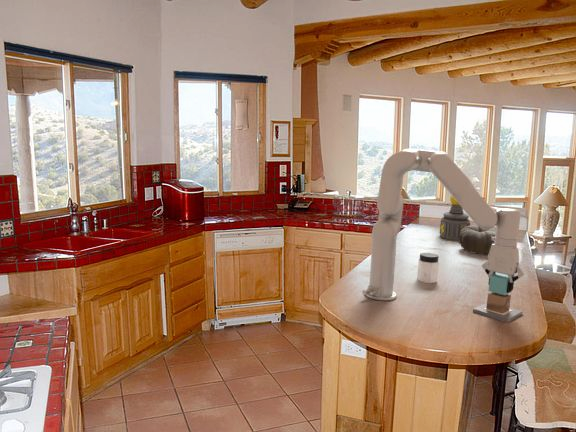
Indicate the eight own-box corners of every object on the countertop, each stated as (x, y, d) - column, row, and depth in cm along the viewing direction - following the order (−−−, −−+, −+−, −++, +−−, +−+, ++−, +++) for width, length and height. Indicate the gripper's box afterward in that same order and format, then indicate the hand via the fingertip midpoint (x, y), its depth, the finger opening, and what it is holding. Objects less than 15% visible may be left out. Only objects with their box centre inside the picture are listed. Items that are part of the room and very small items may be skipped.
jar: (414, 280, 217) (416, 255, 215) (419, 276, 224) (421, 251, 222) (434, 284, 213) (437, 258, 211) (439, 280, 220) (441, 254, 218)
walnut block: (502, 313, 176) (504, 297, 175) (486, 308, 180) (487, 293, 179) (509, 310, 180) (511, 294, 179) (493, 305, 184) (495, 290, 183)
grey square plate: (507, 322, 171) (508, 318, 171) (472, 311, 181) (473, 308, 181) (522, 314, 180) (522, 310, 180) (488, 304, 190) (488, 301, 189)
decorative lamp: (433, 235, 324) (437, 190, 319) (456, 234, 329) (461, 190, 324) (450, 241, 306) (455, 194, 301) (475, 240, 312) (480, 194, 307)
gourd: (496, 243, 291) (498, 216, 285) (510, 260, 267) (512, 231, 262) (454, 245, 294) (454, 218, 288) (463, 262, 271) (464, 233, 265)
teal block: (504, 295, 175) (506, 279, 174) (488, 290, 179) (490, 275, 178) (511, 292, 179) (513, 276, 178) (495, 287, 183) (497, 272, 182)
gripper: (478, 239, 180) (473, 285, 183) (525, 248, 167) (519, 298, 170) (487, 236, 185) (482, 282, 188) (534, 245, 172) (528, 293, 175)
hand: (500, 289), depth 179 cm, fingers closed on teal block, 5 cm apart
